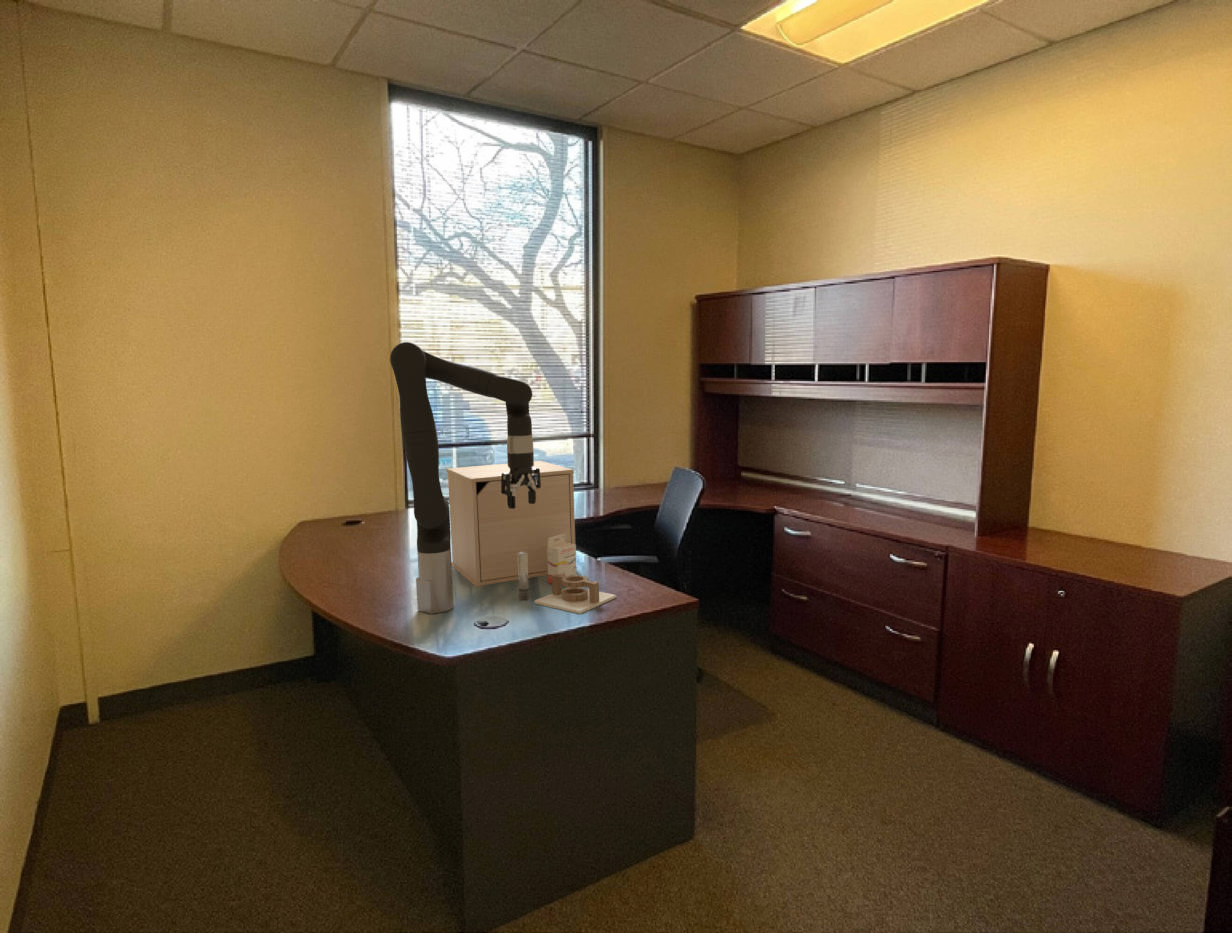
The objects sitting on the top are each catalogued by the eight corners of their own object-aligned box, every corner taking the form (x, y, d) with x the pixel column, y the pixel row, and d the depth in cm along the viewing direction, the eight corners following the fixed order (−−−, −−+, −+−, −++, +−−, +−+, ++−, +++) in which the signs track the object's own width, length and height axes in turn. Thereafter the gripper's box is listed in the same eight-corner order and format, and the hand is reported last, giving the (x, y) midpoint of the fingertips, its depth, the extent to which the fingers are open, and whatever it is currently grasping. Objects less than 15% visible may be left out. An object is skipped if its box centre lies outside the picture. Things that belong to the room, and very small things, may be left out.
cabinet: (475, 586, 227) (470, 478, 223) (451, 565, 253) (446, 468, 248) (576, 570, 243) (573, 469, 238) (544, 552, 269) (541, 460, 264)
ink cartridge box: (559, 585, 226) (557, 539, 224) (547, 583, 229) (546, 537, 227) (577, 579, 232) (576, 534, 230) (566, 576, 236) (564, 532, 234)
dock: (579, 613, 199) (579, 591, 198) (534, 603, 209) (533, 581, 208) (616, 597, 213) (615, 576, 212) (571, 588, 223) (571, 567, 222)
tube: (524, 601, 211) (522, 554, 210) (516, 599, 213) (514, 553, 211) (531, 598, 214) (529, 552, 212) (523, 596, 216) (522, 550, 214)
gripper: (527, 447, 216) (529, 501, 218) (493, 452, 204) (495, 508, 206) (546, 449, 211) (547, 503, 214) (512, 454, 200) (514, 511, 202)
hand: (522, 506), depth 210 cm, fingers open, 8 cm apart
